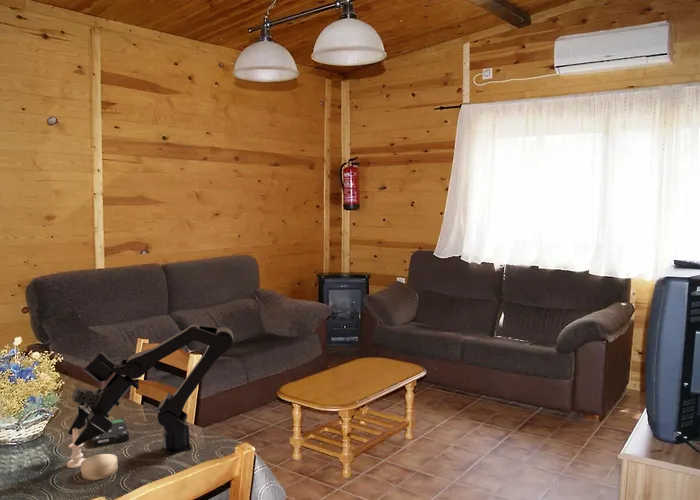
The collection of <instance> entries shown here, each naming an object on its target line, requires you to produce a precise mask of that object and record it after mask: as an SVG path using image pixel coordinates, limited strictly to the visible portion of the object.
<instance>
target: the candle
mask: <svg viewBox="0 0 700 500" xmlns="http://www.w3.org/2000/svg"><path fill="white" fill-rule="evenodd" d="M72 430H73V434H72V443H70V444H69V445H68V448H69V449H72V450H71V452H72V453H71V455H70V460H69V461H67V463H66V467H67V468H69V469H77V468H81V462H82V461H83V460H85V459H86V458H84V453H82V447H83V446H84V444H85V442H84V443H82V444H80V445H78V446H76V445H74V443H75V441H76V439H77V438H78V436H79V435H80V432H79V430H78V429H77V428H76V427H75V428H74V429H72Z"/></svg>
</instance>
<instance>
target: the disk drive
mask: <svg viewBox="0 0 700 500" xmlns="http://www.w3.org/2000/svg"><path fill="white" fill-rule="evenodd" d="M110 421H111V422H112V428H111V429H110V430H109V432H108V433H106V432H105V431H104V432H105V433H104V434H100V435H98V436H96V437H94V438H92V439H91V441H92V446H93V447H94V448H97V447H101V446H105V445H106V446H107V445H108V446H109V445H112V444H113V445H114V444H119V443H122V442H124V443H125V442H128V441H129V442H130V433H129V432H130V431H129V429H128V426H127V424H126V421H125V418H124V417H121V418H117V419H116V418H115V419H110Z"/></svg>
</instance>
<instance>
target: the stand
mask: <svg viewBox="0 0 700 500" xmlns="http://www.w3.org/2000/svg"><path fill="white" fill-rule="evenodd" d="M118 465H119V464H118V457H117V455H115V454H112V453H101V454H100V453H99V454H95V455H92V456H89V457H86V458H85V460H83V461H82V462H81V467H80V473H81V474H80V475H81V478H82V479H84V480H88V481H97V480H102V479H106V478H109V477H111V476H113V475H115V474H116V473H117V472H118V471H119V470H118V469H119V467H118Z"/></svg>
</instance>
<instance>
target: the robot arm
mask: <svg viewBox="0 0 700 500" xmlns="http://www.w3.org/2000/svg"><path fill="white" fill-rule="evenodd" d="M193 341H194V342H199V343H201V344H203V345H207V347H206V350H205V351H204V353H203V355H202V356H201V357H200V359H199V360H198V361H197V363H196V364H195V366H194V367H193V368H192V369H191V371H190V372H189V374H188V375H187V376H186V377H185V380H183V382H182V383H181V385H180V386H179V387H178V389H177V390H176V391H175V392H173V393H171V392H170V391H168V392H167V393H166V395H165V398H164V399H163V400H161V401H160V402H159V405H158V408H157V411H158V413H157V417H156V418H157V421H158V424H160V425H161V426H162V427H163V428H164V433H162V447H163V448H164V449H165V450H166V451H167V453H169V454H170V455H172V454H176V453H179V452H180V453H181V452H185V451H187V450H188V451H189V450H191V449H192V447H193V446H192V445H191V443H190V429H189V428H190V426H189V425H188V424H187V422H188V417H189V416H188V413H186V412H185V411H184V407H185V405H186V403H187V400H188V399H189V398H190V396H191V395H192V394H193V393H194V391H195V390H196V388H197V386H198V385H199V384H200V383H201V381H202V380H203V379H204V378H205V376H206V374H207V373H208V372H209V371H210V369H211V367H212V366H213V365H214V363H215V362H216V361H218V360H219V359H220V358H221V357H222V356H223V355H225V354H226V353H227V352H228V351H229V350H230V348H232V346H233V344H234V343H233V342H234V333H233V331H232V330H231V329H230V328H229V327H226V326H221V327H214V326H206V325H200V324H196V323H195V324H190V325H189V326H188V327H187V328H185V329H183V330H182V331H179V332H178V333H177V334H174V335H173V336H171V337H170V338H168V339H166V340H165V341H162V342H161V343H159V344H158V345H156V346H154V347H152V348H149V349H146V350H141V351H140V352H136V353H134V354H132V355H131V356H129V358H125V359H121V360H120V359H119V360H117V361H116V362H115V361H114V360H113V359H111V358H110V357H109V356H108V355H107V354H106V353H105V352H104V351H100V352H99V353H98V355H97V356H96V357H94V358H93V359H91V361H90V363H88V364H87V365H86V366H85V368H84V369H83V371H84V372H85V373H86V374H88V375H89V376H90V377H92V378H93V379H94V380H95V381H97V382H98V383H103V382H105V383H106V382H107V383H106V384H105V385H104V386H103V387H99V388H97V389H96V391H95V390H91V389H88V388H84V387H80V386H75V388H74V391H73V393H72V396H71V399H73V402H75V403H77V404H76V411H77V413H76V416H75V418H74V420H73V422H72V424H71V426H70V428H69V430H68V432H67V433H68V435H70V436H71V435H72V436H73V430H72V429H74V428H75V427H76V428H77V429H78V431H79V430H81V429H82V428H83V429H82V431H81V432H79V436H78V438H77V439H76V441H75V443H74V445H76V446H78V445H80V444H82V443H84V444H85V443H86V442H88V441H89V440H92V438H94V437H96V436H98V435H100V434H104V433H105V432H106V433H108V432H109V430H110V429H111V428H112V422H111V421H110V420H111V419H110V418H109V417H110V414H109V413H110V412H111V411H112V409H113V408H114V407H115V406H116V407H118V406H120V402H119V401H120V400H121V399H122V398H123V397H124V396H125V395H126V393H127V392H128V391H129V390H130V389H131V387H133V388H135V389H136V390H139V388H140V387H139V381H140V380H139V379H140V378H141V377H142V376H143V375H145V374H146V373H147V372H148V371H149V370H151V369H152V368H153V367H154V366H155V365H156V364H158V362H160V361H161V360H163V359H165V358H166V357H168V356H170V355H171V354H174V353H175V352H176V351H178V350H180V349H182V348H183V347H185V346H187V345H189V344H190V343H191V342H193ZM113 374H114V375H113ZM111 376H112V377H111ZM110 377H111V378H110ZM109 378H110V379H109ZM104 431H105V432H104Z"/></svg>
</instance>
